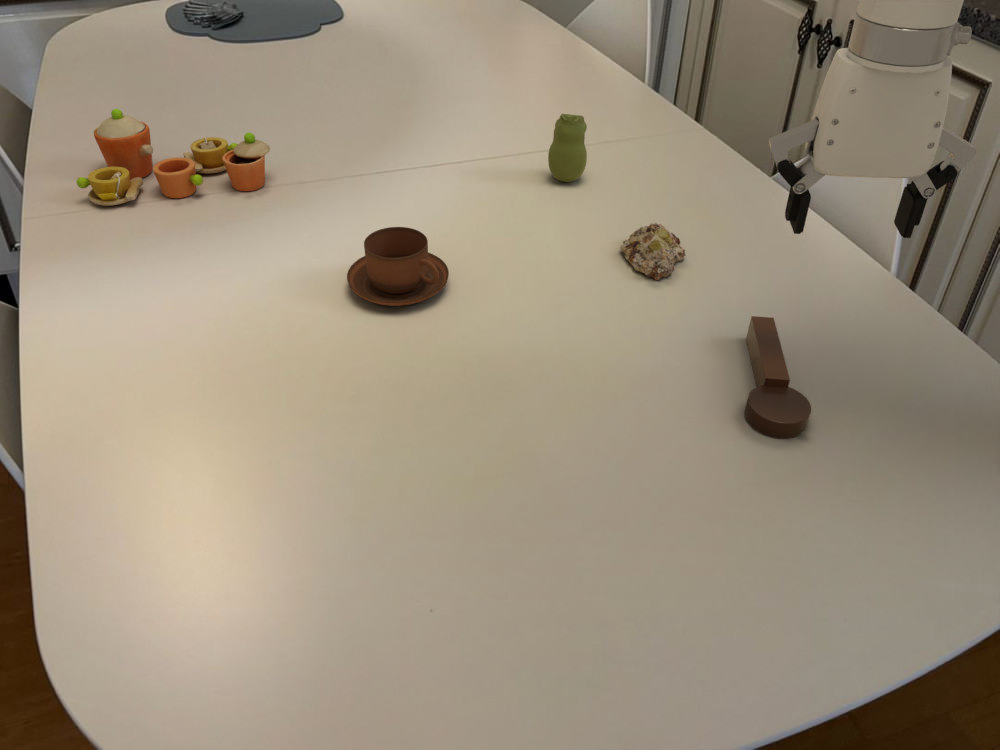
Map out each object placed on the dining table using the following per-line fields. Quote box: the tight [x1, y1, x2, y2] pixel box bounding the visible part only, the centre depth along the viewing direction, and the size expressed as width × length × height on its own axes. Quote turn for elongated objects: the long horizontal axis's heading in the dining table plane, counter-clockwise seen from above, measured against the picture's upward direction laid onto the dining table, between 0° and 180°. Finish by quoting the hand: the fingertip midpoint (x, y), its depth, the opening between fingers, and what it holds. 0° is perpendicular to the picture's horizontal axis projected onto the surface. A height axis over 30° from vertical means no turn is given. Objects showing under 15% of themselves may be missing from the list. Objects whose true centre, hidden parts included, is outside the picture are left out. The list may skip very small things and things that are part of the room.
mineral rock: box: [619, 222, 686, 281], centre depth 108 cm, size 11×4×8 cm
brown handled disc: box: [743, 315, 812, 439], centre depth 88 cm, size 16×6×3 cm, turn 174°
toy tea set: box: [76, 108, 271, 206], centre depth 121 cm, size 26×16×10 cm, turn 103°
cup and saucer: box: [346, 226, 450, 307], centre depth 101 cm, size 12×12×6 cm
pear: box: [547, 113, 588, 183], centre depth 123 cm, size 6×5×10 cm
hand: (848, 229), depth 80 cm, fingers open, 9 cm apart
